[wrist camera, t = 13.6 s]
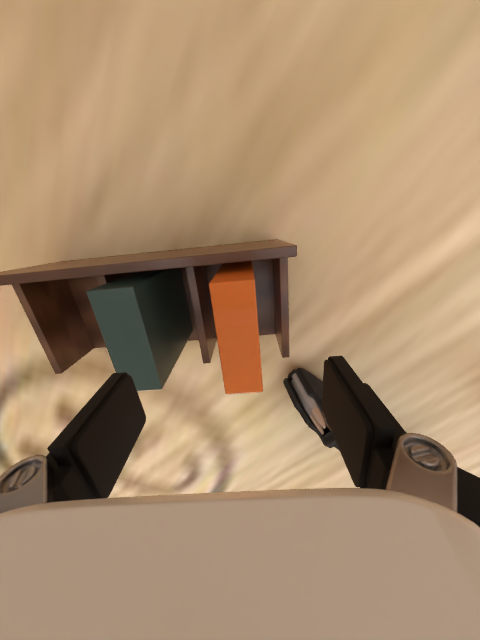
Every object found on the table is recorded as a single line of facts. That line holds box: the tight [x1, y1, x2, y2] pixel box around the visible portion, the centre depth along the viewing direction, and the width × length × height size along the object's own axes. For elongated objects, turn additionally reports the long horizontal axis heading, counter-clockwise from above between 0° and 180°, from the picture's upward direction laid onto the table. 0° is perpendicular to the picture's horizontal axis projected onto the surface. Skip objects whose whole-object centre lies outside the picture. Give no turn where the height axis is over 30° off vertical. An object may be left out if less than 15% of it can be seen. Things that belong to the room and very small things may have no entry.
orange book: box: [209, 261, 263, 394], centre depth 22 cm, size 9×3×13 cm, turn 6°
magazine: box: [284, 368, 339, 450], centre depth 31 cm, size 17×3×30 cm
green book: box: [86, 268, 193, 392], centre depth 23 cm, size 9×4×12 cm, turn 6°
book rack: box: [0, 239, 297, 374], centre depth 24 cm, size 12×27×11 cm, turn 96°
